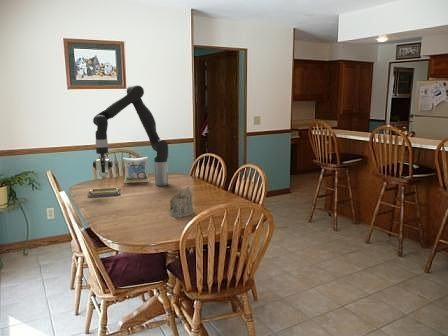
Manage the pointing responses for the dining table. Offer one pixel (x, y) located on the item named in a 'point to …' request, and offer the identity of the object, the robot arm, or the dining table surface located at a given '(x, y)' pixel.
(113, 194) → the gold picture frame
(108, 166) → the pneumatic valve
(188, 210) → the grey rock
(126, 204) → the dining table surface
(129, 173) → the pouch
